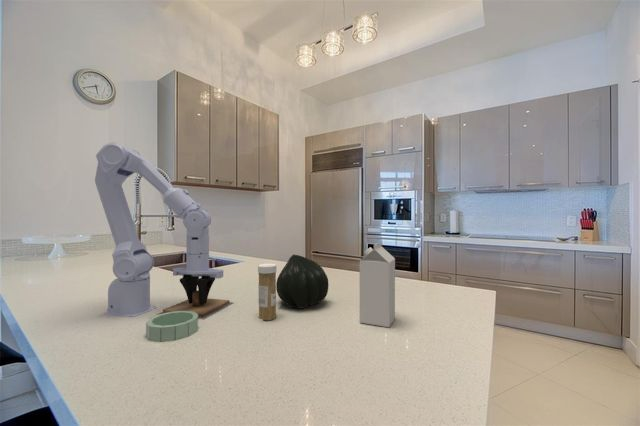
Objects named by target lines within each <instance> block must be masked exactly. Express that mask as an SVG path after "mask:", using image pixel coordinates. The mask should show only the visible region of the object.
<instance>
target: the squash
mask: <svg viewBox="0 0 640 426" xmlns="http://www.w3.org/2000/svg"><path fill="white" fill-rule="evenodd" d="M328 292H329V278H328V275H327V274H326V272H325V269H323V267H322V266H321V265H320V264H319V263H317V262H316V261H314V260H312V259H309V258H307V257H304V256H302V255H300V254H299V255H298V254H292V255H291V256H290V257H289V259H288V260H287V262H286V263H285V265H284V266H283V268H282V269H281V271H280V272H279V274H278V276H277V278H276V294H277V296H278V298H279V299H280V300H281V301H282V302H283V303H285V304H286V305H287V306H288V307H290V308H299V309H305V308H307V306H308V305H309V306H313V305H315V304H320V303H322V302H323V300H325V299H326V297H327V295H328Z"/></svg>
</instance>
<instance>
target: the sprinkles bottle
mask: <svg viewBox="0 0 640 426" xmlns="http://www.w3.org/2000/svg"><path fill="white" fill-rule="evenodd" d="M257 272H258V316H257V317H258V319H259V320H262V321H272V320H274V319H276V318H277V289H276V283H277V277H276V274H277V264H276V263H270V262H269V263H261V264H258V266H257Z"/></svg>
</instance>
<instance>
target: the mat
mask: <svg viewBox="0 0 640 426" xmlns="http://www.w3.org/2000/svg"><path fill="white" fill-rule="evenodd" d="M233 304H234V302H231V301H229V304H227V305H226V306H224V307H222V308H220V309H218V310H216V311H214V312H213V313H211V314H209V315H207V316H205V317H203V318H201V317H198V320H202V321H203V320H206V319H208V318H211V316H213V315H216V314H217V313H218V312H221V311H222V310H223V309H225V308H228V307H229V306H232V305H233ZM159 314H163V311H162V312H159V313H156V315H155V316H157V315H159Z"/></svg>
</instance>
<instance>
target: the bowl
mask: <svg viewBox="0 0 640 426" xmlns="http://www.w3.org/2000/svg"><path fill="white" fill-rule="evenodd" d="M158 314H159V313H158ZM198 329H199V319H198V314H197V313H195V312H192V311H174V312H168V313H163V314H159V315H154V316H152V317H150V318H149V319H148V320H147V321H146V322H145V337H146V338H147V339H148V340H149V341H153V342H154V341H155V342H170V341H175V340H181V339H184V338H187V337H189V336H191V335H193V334H195V333H196V332H197V331H198Z"/></svg>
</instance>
